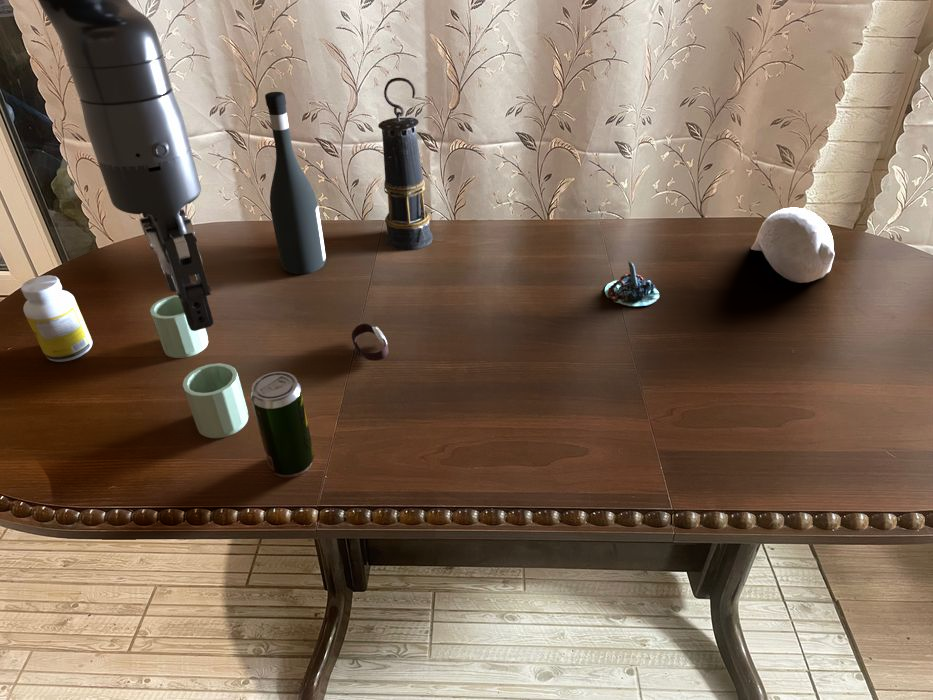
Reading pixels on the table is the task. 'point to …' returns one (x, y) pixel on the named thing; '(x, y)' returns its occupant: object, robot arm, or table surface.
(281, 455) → the beer can
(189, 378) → the near pot
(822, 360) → the table surface
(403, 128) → the lantern
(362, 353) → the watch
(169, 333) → the far pot
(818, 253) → the seashell
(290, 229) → the wine bottle
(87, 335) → the pill bottle
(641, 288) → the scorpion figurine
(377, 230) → the table surface
